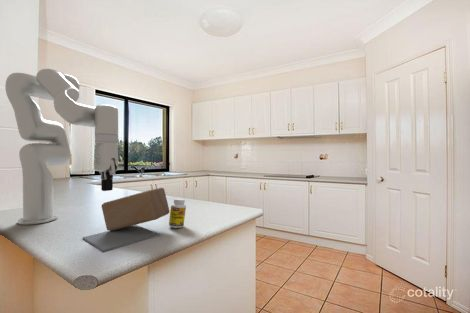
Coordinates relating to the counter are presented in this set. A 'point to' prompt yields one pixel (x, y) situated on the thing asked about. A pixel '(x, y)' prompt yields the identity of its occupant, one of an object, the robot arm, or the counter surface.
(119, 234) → the mat
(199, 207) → the counter surface
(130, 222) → the block
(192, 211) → the counter surface
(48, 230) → the counter surface
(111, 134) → the robot arm
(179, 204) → the supplement bottle
